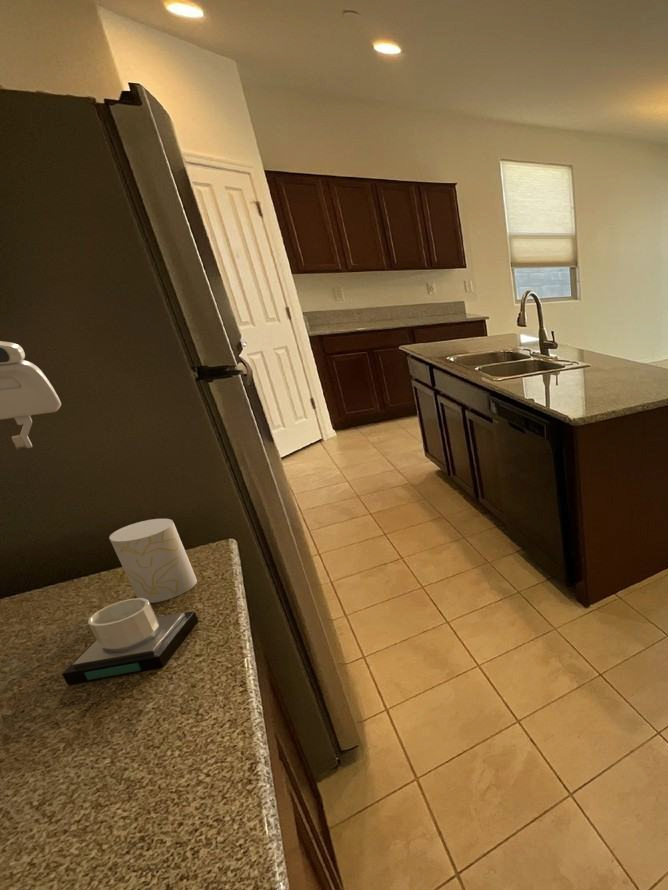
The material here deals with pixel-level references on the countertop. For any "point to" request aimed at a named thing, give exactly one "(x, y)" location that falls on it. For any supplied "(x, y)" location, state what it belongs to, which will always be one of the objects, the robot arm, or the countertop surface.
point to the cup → (154, 559)
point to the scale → (133, 652)
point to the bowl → (123, 623)
